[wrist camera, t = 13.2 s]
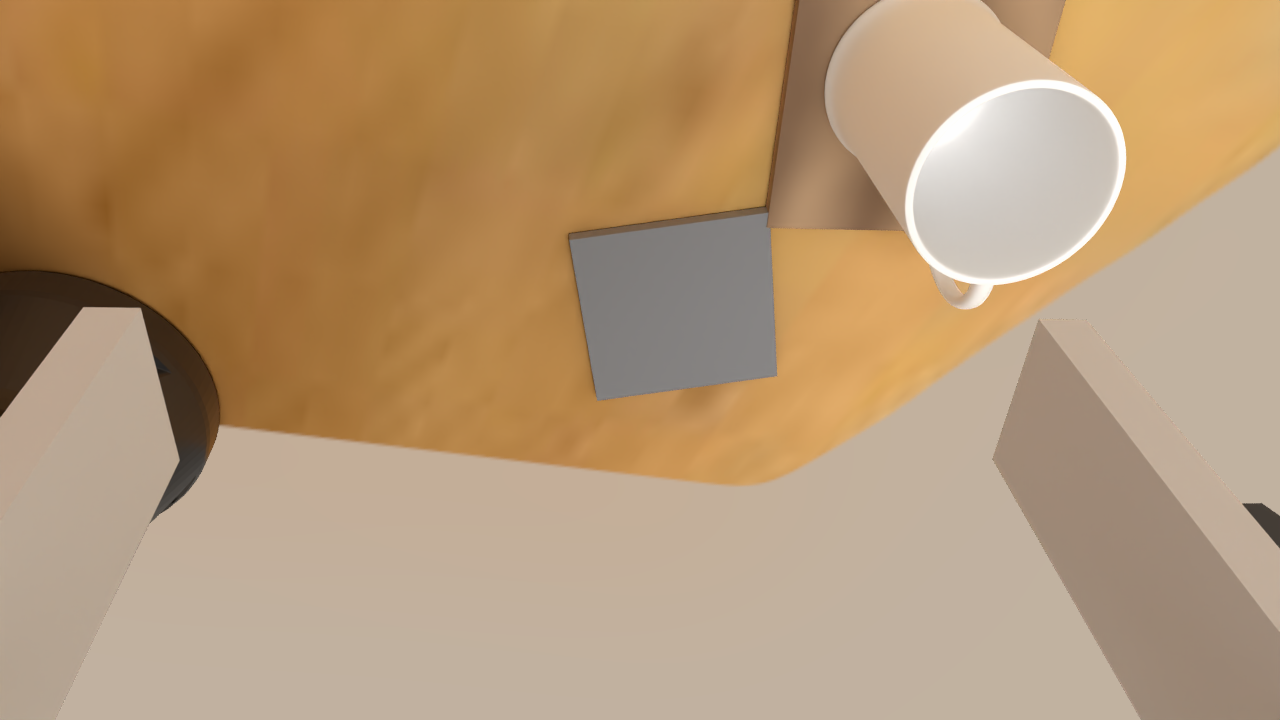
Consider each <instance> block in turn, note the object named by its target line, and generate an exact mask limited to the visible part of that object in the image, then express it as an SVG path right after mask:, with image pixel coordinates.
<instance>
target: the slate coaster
mask: <svg viewBox="0 0 1280 720" xmlns="http://www.w3.org/2000/svg"><path fill="white" fill-rule="evenodd" d="M767 219H768V210H767V208H766V207H759V208H752V209H745V210H737V211H730V212H723V213H716V214H708V215H701V216H694V217H687V218H679V219H672V220H665V221H658V222H650V223H643V224H636V225H629V226H621V227H614V228H607V229H600V230H592V231H585V232H578V233H571V234H569V242H570V248H571V253H572V259H573V265H574V270H575V276H576V282H577V288H578V293H579V299H580V305H581V310H582V316H583V322H584V328H585V333H586V339H587V345H588V351H589V356H590V362H591V368H592V373H593V379H594V385H595V391H596V396H597V401H599V400H606V399H614V398H621V397H628V396H635V395H643V394H650V393H657V392H665V391H672V390H679V389H686V388H694V387H701V386H708V385H716V384H723V383H730V382H737V381H745V380H752V379H759V378H767V377H774V376H777V364H776V342H775V320H774V298H773V276H772V255H771V233H770V228H767V227H766V226H767Z"/></svg>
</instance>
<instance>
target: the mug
mask: <svg viewBox="0 0 1280 720" xmlns="http://www.w3.org/2000/svg"><path fill="white" fill-rule="evenodd" d="M824 96H825V107H826V112H827V116H828V119H829V122H830V125H831V127H832V129H833V131H834V133H835V135H836V136H837V138H838V139H839V141H840V142H841V143H842V144H843V145H844V147H845V148H846V149H847V150H848V151H850V152H851V153H852V154H853V155H854V156H856V157H857V159H858V160H859V162H860V163H861V165H862V166H863V168H864V169H865V171H866V172H867V174H868V176H869V177H870V179H871V180H872V182H873V183H874V185H875V186H876V188H877V190H878V191H879V193H880V194H881V196H882V197H883V199H884V200H885V202H886V203H887V205H888V207H889V208H890V210H891V211H892V213H893V214H894V216H895V217H896V219H897V220H898V222H899V224H900V225H901V227H902V228H903V230H904V231H905V233H906V234H907V236H908V237H909V239H910V241H911V242H912V244H913V245H914V247H915V248H916V250H917V251H918V252H919V254H920V255H921V256H922V257H923V258H924V260H925V261H926V262H928V263H929V266H930V269H931V272H932V275H933V278H934V280H935V283H936V285H937V287H938V289H939V291H940V293H941V294H942V296H943V297H944V298H945V300H946V301H947V302H948V303H949V304H951V305H952V306H954V307H956V308H959V309H972V308H975V307H977V306H979V305H981V304H982V303H983V302H984V301H985V300H986V298H987V297H988V296H989V294H990V292H991V290H992V288H993V285H999V284H1007V283H1013V282H1017V281H1021V280H1025V279H1028V278H1031V277H1033V276H1036V275H1038V274H1041V273H1043V272H1045V271H1047V270H1049V269H1051V268H1053V267H1055V266H1056V265H1058V264H1060V263H1061V262H1063V261H1064V260H1066V259H1067V258H1069V257H1070V256H1071V255H1073V254H1074V253H1075V252H1077V251H1078V250H1079V249H1080V248H1081V247H1082V246H1083V245H1084V244H1086V243H1087V242H1088V241H1089V240H1090V238H1091V237H1092V236H1093V235H1094V234H1095V233H1096V232H1097V231H1098V229H1099V228H1100V227H1101V225H1102V224H1103V223H1104V221H1105V220H1106V218H1107V217H1108V215H1109V213H1110V212H1111V210H1112V208H1113V206H1114V204H1115V202H1116V200H1117V198H1118V195H1119V192H1120V190H1121V186H1122V183H1123V179H1124V174H1125V167H1126V148H1125V141H1124V137H1123V133H1122V130H1121V127H1120V125H1119V123H1118V121H1117V119H1116V117H1115V116H1114V114H1113V113H1112V111H1111V110H1110V109H1109V107H1108V106H1107V105H1106V104H1105V103H1104V102H1103V101H1102V100H1101V99H1100V98H1099V97H1098V96H1096V95H1095V94H1094V93H1093V92H1091V91H1090V90H1089V89H1087V88H1086V87H1085V86H1083V85H1082V84H1081V83H1079V82H1078V81H1077V80H1075V79H1074V78H1073V77H1071V76H1070V75H1069V74H1067V73H1066V72H1065V71H1063V70H1062V69H1061V68H1059V67H1058V66H1057V65H1055V64H1054V63H1053V62H1051V61H1050V60H1049V59H1048V58H1046V57H1045V56H1044V55H1042V54H1041V53H1040V52H1038V51H1037V50H1036V49H1034V48H1033V47H1032V46H1030V45H1029V44H1028V43H1026V42H1025V41H1024V40H1022V39H1021V38H1020V37H1018V36H1017V35H1016V34H1014V33H1013V32H1012V31H1010V30H1009V29H1008V28H1006V27H1005V26H1004V25H1002V24H1001V22H1000V21H999V19H998V18H997V16H996V15H995V14H994V12H993V11H992V10H991V9H990V8H989V7H988V6H987V5H986V4H985V3H984V2H982V1H981V0H881V1H879V2H877V3H876V4H874V5H873V6H871V7H870V8H869V9H867V10H866V11H865V12H864V13H863V14H862V15H860V16H859V17H858V18H857V19H856V20H855V21H854V23H853V24H852V25H851V26H850V27H849V28H848V30H847V31H846V32H845V34H844V35H843V37H842V38H841V40H840V41H839V43H838V45H837V47H836V49H835V51H834V53H833V55H832V58H831V60H830V63H829V66H828V70H827V74H826V80H825V91H824ZM953 279H956V280H959V281H962V282H966V283H970V286H969V288H968V290H967V292H966V293H965V294H962V293H961V291H960V290H959V289H958V287H957V286H956V284H955V282H954V280H953Z"/></svg>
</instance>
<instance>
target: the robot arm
mask: <svg viewBox="0 0 1280 720" xmlns="http://www.w3.org/2000/svg"><path fill="white" fill-rule="evenodd" d="M219 415H220V413H219V403H218V397H217V393H216V389H215V386H214V384H213V381H212V378H211V376H210V374H209V372H208V370H207V368H206V366H205V365H204V363H203V361H202V360H201V358H200V357H199V355H198V354H197V352H196V351H195V350H194V348H193V347H192V346H191V345H190V344H189V342H188V341H187V340H186V339H185V338H184V337H183V336H182V335H181V334H180V333H179V332H178V331H177V330H176V329H175V328H174V327H173V326H172V325H171V324H169V323H168V322H167V321H166V320H165V319H163V318H162V317H161V316H159V315H158V314H157V313H155V312H154V311H152V310H151V309H149V308H148V307H146V306H145V305H143V304H141V303H140V302H138V301H136V300H134V299H133V298H131V297H129V296H127V295H125V294H123V293H121V292H118V291H116V290H114V289H112V288H109V287H107V286H104V285H101V284H98V283H95V282H92V281H89V280H86V279H82V278H78V277H74V276H69V275H64V274H58V273H51V272H40V271H15V272H4V273H0V720H55V719H56V717H57V715H58V713H59V711H60V709H61V707H62V704H63V703H64V700H65V698H66V696H67V694H68V692H69V690H70V688H71V686H72V684H73V682H74V680H75V677H76V675H77V673H78V671H79V669H80V667H81V665H82V663H83V661H84V659H85V657H86V654H87V652H88V650H89V648H90V646H91V644H92V642H93V640H94V638H95V636H96V634H97V632H98V629H99V627H100V625H101V623H102V621H103V619H104V617H105V615H106V613H107V611H108V609H109V607H110V605H111V602H112V600H113V598H114V596H115V594H116V592H117V590H118V588H119V585H120V583H121V581H122V579H123V577H124V575H125V573H126V571H127V569H128V566H129V565H130V563H131V560H132V558H133V557H134V554H135V552H136V550H137V548H138V546H139V544H140V542H141V540H142V538H143V536H144V534H145V531H146V529H147V527H148V525H149V524H150V523H151V522H152V521H153V520H154V519H155V518H156V517H157V516H158V515H159V514H160V513H162V512H163V511H165V510H167V509H168V508H169V507H171V506H172V505H173V504H174V503H175V502H177V501H178V500H179V499H180V498H181V497H183V496H184V495H185V494H186V492H187V491H188V490H189V489H190V488H191V487H192V485H193V484H194V483H195V481H196V480H197V478H198V477H199V475H200V474H201V472H202V470H203V467H204V465H205V463H206V461H207V459H208V457H209V454H210V452H211V450H212V448H213V445H214V443H215V440H216V437H217V433H218V428H219ZM993 461H994V463H995V464H996V466H997V468H998V470H999V471H1000V473H1001V475H1002V477H1003V478H1004V480H1005V482H1006V484H1007V485H1008V487H1009V489H1010V491H1011V492H1012V494H1013V496H1014V498H1015V499H1016V501H1017V503H1018V505H1019V507H1020V508H1021V510H1022V512H1023V513H1024V515H1025V517H1026V519H1027V521H1028V522H1029V524H1030V526H1031V528H1032V529H1033V531H1034V533H1035V535H1036V536H1037V538H1038V540H1039V542H1040V543H1041V545H1042V547H1043V549H1044V550H1045V552H1046V554H1047V556H1048V557H1049V559H1050V561H1051V563H1052V564H1053V566H1054V568H1055V570H1056V571H1057V573H1058V575H1059V576H1060V578H1061V580H1062V582H1063V584H1064V586H1065V587H1066V589H1067V591H1068V593H1069V594H1070V596H1071V598H1072V600H1073V601H1074V603H1075V605H1076V606H1077V608H1078V610H1079V612H1080V613H1081V615H1082V617H1083V619H1084V621H1085V622H1086V624H1087V626H1088V628H1089V629H1090V631H1091V633H1092V635H1093V636H1094V638H1095V640H1096V641H1097V643H1098V645H1099V647H1100V649H1101V650H1102V652H1103V654H1104V656H1105V657H1106V659H1107V661H1108V663H1109V664H1110V666H1111V668H1112V670H1113V671H1114V673H1115V675H1116V677H1117V678H1118V680H1119V682H1120V684H1121V686H1122V687H1123V689H1124V691H1125V693H1126V694H1127V696H1128V698H1129V700H1130V701H1131V703H1132V705H1133V706H1134V708H1135V710H1136V712H1137V714H1138V715H1139V717H1140V719H1141V720H1280V516H1279V515H1278V514H1276V513H1275V512H1273V511H1272V510H1270V509H1269V508H1268V507H1266V506H1265V505H1263V504H1262V503H1260V504H1242V503H1241V502H1240V501H1239V500H1238V499H1237V497H1236V496H1235V495H1234V494H1233V493H1232V491H1231V490H1230V489H1229V488H1228V487H1227V486H1226V484H1225V483H1224V482H1223V481H1222V480H1221V478H1220V477H1219V476H1218V475H1217V474H1216V472H1215V471H1214V470H1213V469H1212V468H1211V467H1210V465H1209V464H1208V463H1207V462H1206V461H1205V459H1204V458H1203V457H1202V456H1201V455H1200V453H1199V452H1198V451H1197V450H1196V449H1195V448H1194V446H1193V445H1192V444H1191V443H1190V442H1189V440H1188V439H1187V438H1186V437H1185V436H1184V435H1183V433H1182V432H1181V431H1180V430H1179V429H1178V427H1177V426H1176V425H1175V424H1174V423H1173V421H1172V420H1171V419H1170V418H1169V417H1168V416H1167V414H1166V413H1165V412H1164V411H1163V410H1162V408H1161V407H1160V406H1159V405H1158V404H1157V403H1156V402H1155V400H1154V399H1153V398H1152V397H1151V396H1150V394H1149V393H1148V392H1147V391H1146V389H1145V388H1144V387H1143V386H1142V385H1141V384H1140V382H1139V381H1138V380H1137V379H1136V378H1135V377H1134V375H1133V374H1132V373H1131V372H1130V370H1129V369H1128V368H1127V367H1126V366H1125V365H1124V363H1123V362H1122V361H1121V360H1120V359H1119V357H1118V356H1117V355H1116V354H1115V353H1114V351H1113V350H1112V349H1111V348H1110V347H1109V346H1108V344H1107V343H1106V342H1105V341H1104V340H1103V338H1102V337H1101V336H1100V335H1099V334H1098V333H1097V331H1096V330H1095V329H1094V328H1093V327H1092V325H1091V324H1090V323H1089V322H1088V321H1087V320H1074V319H1072V320H1068V319H1066V320H1064V319H1063V320H1062V319H1039V320H1038V323H1037V326H1036V329H1035V332H1034V335H1033V338H1032V341H1031V345H1030V347H1029V350H1028V353H1027V356H1026V359H1025V362H1024V365H1023V368H1022V371H1021V374H1020V377H1019V380H1018V383H1017V386H1016V390H1015V392H1014V395H1013V398H1012V401H1011V404H1010V407H1009V410H1008V413H1007V416H1006V419H1005V422H1004V426H1003V428H1002V432H1001V435H1000V438H999V441H998V444H997V447H996V450H995V453H994V456H993Z"/></svg>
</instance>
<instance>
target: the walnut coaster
mask: <svg viewBox="0 0 1280 720" xmlns="http://www.w3.org/2000/svg"><path fill="white" fill-rule="evenodd" d="M879 1H881V0H795V5H794V12H793V19H792V26H791V33H790V40H789V47H788V54H787V62H786V69H785V76H784V83H783V90H782V97H781V104H780V111H779V118H778V125H777V132H776V139H775V146H774V153H773V160H772V167H771V174H770V181H769V188H768V196H767V203H766V208H767V210H768V219H767V226H766V227H767V228H796V229H844V230H892V231H904V230H903V228H902V227H901V225H900V224H899V222H898V220H897V219H896V217H895V216H894V214H893V213H892V211H891V210H890V208H889V207H888V205H887V203H886V202H885V200H884V199H883V197H882V196H881V194H880V193H879V191H878V190H877V188H876V186H875V185H874V183H873V182H872V180H871V179H870V177H869V176H868V174H867V172H866V171H865V169H864V168H863V166H862V165H861V163H860V162H859V160H858V159H857V157H856V156H854V155H853V154H852V153H851V152H850V151H848V150H847V149H846V148H845V147H844V145H843V144H842V143H841V142H840V141H839V139H838V138H837V136H836V135H835V133H834V131H833V129H832V127H831V125H830V122H829V119H828V116H827V112H826V107H825V96H824V91H825V80H826V74H827V70H828V66H829V63H830V60H831V58H832V55H833V53H834V51H835V49H836V47H837V45H838V43H839V41H840V40H841V38H842V37H843V35H844V34H845V32H846V31H847V30H848V28H849V27H850V26H851V25H852V24H853V23H854V21H855V20H856V19H857V18H858V17H859V16H860V15H862V14H863V13H864V12H865V11H866V10H867V9H869V8H870V7H871V6H873V5H874V4H876V3H877V2H879ZM981 1H982V2H984V3H985V4H986V5H987V6H988V7H989V8H990V9H991V10H992V11H993V12H994V14H995V15H996V16H997V18H998V19H999V21H1000V22H1001V24H1002V25H1004V26H1005V27H1006V28H1008V29H1009V30H1010V31H1012V32H1013V33H1014V34H1016V35H1017V36H1018V37H1020V38H1021V39H1022V40H1024V41H1025V42H1026V43H1028V44H1029V45H1030V46H1032V47H1033V48H1034V49H1036V50H1037V51H1038V52H1040V53H1041V54H1042V55H1044V56H1045V57H1046V58H1048V59H1049V56H1050V53H1051V49H1052V46H1053V42H1054V39H1055V35H1056V32H1057V29H1058V25H1059V22H1060V18H1061V15H1062V11H1063V8H1064V4H1065V1H1066V0H981Z"/></svg>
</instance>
